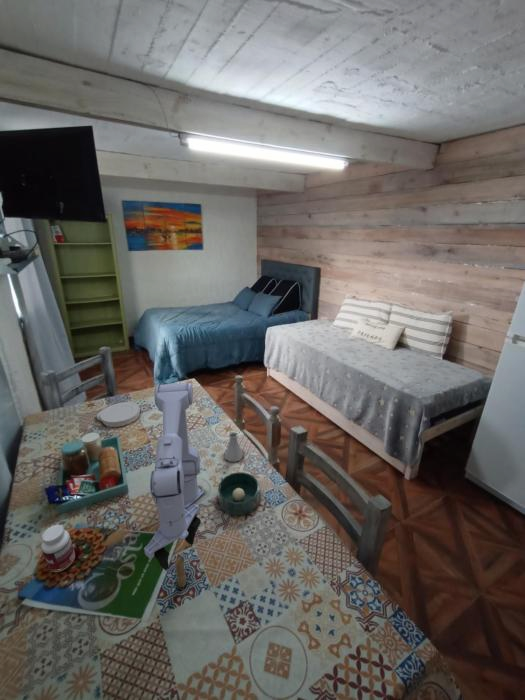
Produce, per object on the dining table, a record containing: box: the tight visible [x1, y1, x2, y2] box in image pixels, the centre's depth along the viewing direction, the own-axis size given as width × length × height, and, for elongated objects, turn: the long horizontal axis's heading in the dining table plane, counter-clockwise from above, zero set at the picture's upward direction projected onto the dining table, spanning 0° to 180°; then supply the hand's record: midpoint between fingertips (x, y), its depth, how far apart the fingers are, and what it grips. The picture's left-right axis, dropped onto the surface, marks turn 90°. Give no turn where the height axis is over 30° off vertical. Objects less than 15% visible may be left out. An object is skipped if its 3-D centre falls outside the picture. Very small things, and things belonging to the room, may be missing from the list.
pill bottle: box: [41, 524, 76, 573], centre depth 83 cm, size 6×6×11 cm
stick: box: [174, 557, 187, 588], centre depth 78 cm, size 2×2×8 cm
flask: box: [224, 431, 244, 463], centre depth 122 cm, size 7×7×10 cm
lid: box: [96, 401, 141, 428], centre depth 149 cm, size 17×20×3 cm
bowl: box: [217, 471, 260, 517], centre depth 104 cm, size 13×13×5 cm
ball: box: [232, 488, 245, 502], centre depth 103 cm, size 4×4×4 cm
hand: (177, 554), depth 76 cm, fingers open, 7 cm apart
